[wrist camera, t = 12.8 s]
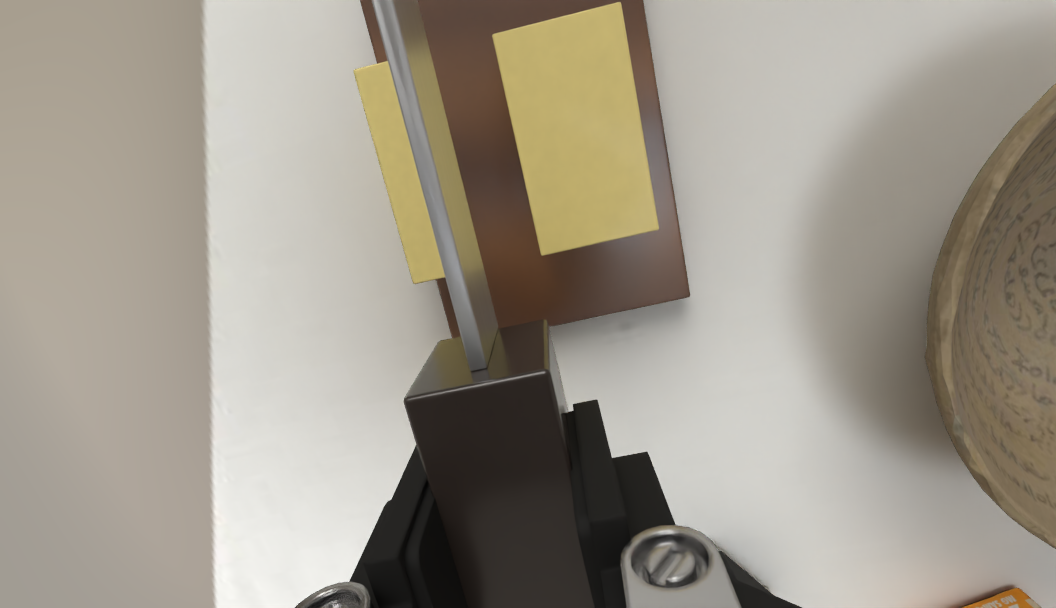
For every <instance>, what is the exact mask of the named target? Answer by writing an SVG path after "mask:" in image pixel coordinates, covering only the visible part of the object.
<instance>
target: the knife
mask: <svg viewBox="0 0 1056 608" xmlns="http://www.w3.org/2000/svg"><path fill="white" fill-rule="evenodd" d="M372 4H373V7H374V11H375V15H376V19H377V22H378V26H379V30H380V34H381V37H382V41H383V45H384V49H385V52H386V56H387V60H388V64H389V67H390V71H391V75H392V79H393V82H394V86H395V90H396V94H397V97H398V101H399V105H400V109H401V112H402V116H403V120H404V124H405V128H406V131H407V135H408V139H409V143H410V146H411V150H412V154H413V158H414V161H415V165H416V169H417V173H418V176H419V180H420V184H421V188H422V191H423V195H424V199H425V203H426V206H427V210H428V214H429V218H430V221H431V225H432V229H433V233H434V236H435V240H436V244H437V248H438V251H439V255H440V259H441V263H442V267H443V270H444V274H445V278H446V282H447V285H448V289H449V293H450V297H451V300H452V304H453V308H454V312H455V315H456V319H457V323H458V327H459V330H460V334H461V337H456V338H451V339H446V340H441V341H439V342H438V343H437V345H436V346H435V348H434V350H433V351H432V353H431V355H430V356H429V358H428V360H427V361H426V363H425V364H424V366H423V368H422V369H421V371H420V373H419V374H418V376H417V378H416V379H415V381H414V383H413V384H412V386H411V388H410V389H409V391H408V393H407V394H406V396H405V398H404V405H405V408H406V411H407V415H408V418H409V421H410V425H411V428H412V431H413V435H414V438H415V441H416V444H417V448H418V451H419V454H420V458H421V461H422V464H423V468H424V471H425V474H426V477H427V481H428V484H429V487H430V491H431V494H432V497H435V500H436V503H437V507H438V510H439V513H440V517H441V520H442V523H443V526H444V530H445V533H446V536H447V540H448V543H449V546H450V550H451V553H452V556H453V559H454V563H455V566H456V569H457V573H458V576H459V579H460V582H461V586H462V589H463V592H464V596H465V599H466V602H467V606H468V608H595V607H594V603H593V599H592V594H591V590H590V586H589V581H588V577H587V573H586V569H585V564H584V560H583V556H582V552H581V547H580V543H579V539H578V533H577V528H576V522H575V515H574V505H573V495H572V485H571V474H570V471H572V469H573V465H572V456H571V447H570V438H569V428H568V419H567V412H568V408H567V403H566V399H565V394H564V390H563V385H562V381H561V376H560V372H559V368H558V363H557V359H556V354H555V350H554V345H553V341H552V336H551V332H550V327H549V323H548V321H547V320H545V319H542V320H537V321H532V322H527V323H523V324H518V325H513V326H508V327H504V328H499V329H498V324H497V320H496V316H495V312H494V308H493V303H492V299H491V295H490V291H489V287H488V283H487V279H486V275H485V271H484V267H483V263H482V259H481V255H480V251H479V247H478V243H477V239H476V235H475V231H474V227H473V223H472V219H471V215H470V211H469V206H468V202H467V198H466V194H465V190H464V186H463V182H462V178H461V174H460V170H459V166H458V162H457V158H456V154H455V150H454V146H453V142H452V138H451V134H450V130H449V126H448V122H447V118H446V114H445V109H444V105H443V101H442V97H441V93H440V89H439V85H438V81H437V77H436V73H435V69H434V65H433V61H432V57H431V53H430V49H429V45H428V41H427V37H426V33H425V29H424V25H423V21H422V17H421V13H420V8H419V4H418V0H372Z"/></svg>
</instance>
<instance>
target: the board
mask: <svg viewBox="0 0 1056 608" xmlns="http://www.w3.org/2000/svg"><path fill="white" fill-rule="evenodd" d="M360 2H361V6H362V9H363V13H364V17H365V20H366V24H367V28H368V31H369V35H370V39H371V42H372V46H373V50H374V53H375V57H376V61H377V64H378V63H382V62H386V61H388V60H387V56H386V52H385V49H384V45H383V41H382V37H381V34H380V30H379V26H378V22H377V19H376V15H375V11H374V7H373V4H372V0H360ZM617 2H621V5H622V11H623V17H624V23H625V29H626V35H627V41H628V47H629V53H630V59H631V65H632V71H633V77H634V82H635V88H636V94H637V100H638V106H639V112H640V118H641V124H642V130H643V136H644V142H645V148H646V154H647V159H648V165H649V171H650V177H651V183H652V189H653V195H654V201H655V207H656V213H657V219H658V225H659V230H656V231H651V232H647V233H642V234H638V235H633V236H629V237H624V238H620V239H615V240H611V241H606V242H602V243H597V244H593V245H588V246H584V247H580V248H575V249H571V250H566V251H562V252H557V253H553V254H548V255H544V256H542V255H541V253H540V248H539V244H538V239H537V235H536V230H535V226H534V221H533V217H532V212H531V208H530V203H529V199H528V194H527V190H526V185H525V181H524V176H523V172H522V167H521V163H520V158H519V154H518V149H517V145H516V141H515V136H514V132H513V127H512V123H511V118H510V114H509V109H508V105H507V100H506V96H505V91H504V87H503V82H502V78H501V73H500V69H499V64H498V60H497V55H496V51H495V46H494V42H493V37H492V35H493V34H495V33H499V32H503V31H507V30H511V29H515V28H519V27H523V26H527V25H531V24H535V23H539V22H542V21H546V20H550V19H554V18H558V17H562V16H566V15H570V14H574V13H578V12H582V11H586V10H590V9H593V8H597V7H601V6H605V5H609V4H613V3H617ZM418 4H419V8H420V13H421V17H422V21H423V25H424V29H425V33H426V37H427V41H428V45H429V49H430V53H431V57H432V61H433V65H434V69H435V73H436V77H437V81H438V85H439V89H440V93H441V97H442V101H443V105H444V109H445V114H446V118H447V122H448V126H449V130H450V134H451V138H452V142H453V146H454V150H455V154H456V158H457V162H458V166H459V170H460V174H461V178H462V182H463V186H464V190H465V194H466V198H467V202H468V206H469V211H470V215H471V219H472V223H473V227H474V231H475V235H476V239H477V243H478V247H479V251H480V255H481V259H482V263H483V267H484V271H485V275H486V279H487V283H488V287H489V291H490V295H491V299H492V303H493V308H494V312H495V316H496V320H497V324H498V329H499V328H504V327H508V326H513V325H518V324H523V323H527V322H532V321H537V320H542V319H545V320H547V321H548V323H549V327H551V326H556V325H561V324H565V323H570V322H575V321H579V320H584V319H589V318H593V317H598V316H603V315H607V314H612V313H617V312H621V311H626V310H631V309H636V308H640V307H645V306H650V305H654V304H659V303H664V302H668V301H673V300H678V299H682V298H687V297H689V296H690V291H689V285H688V278H687V272H686V266H685V260H684V253H683V247H682V241H681V234H680V228H679V222H678V216H677V209H676V203H675V197H674V191H673V184H672V178H671V172H670V166H669V159H668V153H667V147H666V141H665V134H664V128H663V122H662V116H661V109H660V103H659V97H658V91H657V84H656V78H655V72H654V66H653V59H652V53H651V47H650V40H649V34H648V28H647V22H646V15H645V9H644V3H643V0H418ZM436 281H437V284H438V288H439V292H440V295H441V299H442V303H443V306H444V310H445V314H446V317H447V321H448V325H449V328H450V332H451V336H452V338H456V337H461V334H460V330H459V327H458V323H457V319H456V315H455V312H454V308H453V304H452V300H451V297H450V293H449V289H448V285H447V282H446V278H445V277H444V278H440V279H436Z"/></svg>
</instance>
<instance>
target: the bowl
mask: <svg viewBox="0 0 1056 608" xmlns="http://www.w3.org/2000/svg"><path fill="white" fill-rule="evenodd" d="M925 360H926V364H927V367H928V371H929V374H930V378H931V382H932V386H933V390H934V394H935V398H936V402H937V405H938V408H939V410H940V413H941V416H942V419H943V422H944V424H945V427H946V430H947V432H948V434H949V436H950V438H951V440H952V442H953V444H954V446H955V448H956V450H957V452H958V454H959V456H960V457H961V459H962V461H963V462H964V464H965V465H966V467H967V468H968V470H969V471H970V473H971V474H972V476H973V477H974V479H975V480H976V481H977V483H978V484H979V485H980V487H981V488H982V489H983V491H984V492H985V493H986V494H987V495H988V496H989V497H990V498H991V499H992V500H993V501H994V502H995V503H996V504H997V505H998V506H999V507H1000V508H1001V509H1002V510H1003V511H1004V512H1005V513H1006V514H1007V515H1008V516H1009V517H1011V518H1012V519H1013V520H1014V521H1016V522H1017V523H1018V524H1020V525H1021V526H1022V527H1024V528H1025V529H1026V530H1028V531H1029V532H1030V533H1032V534H1033V535H1035V536H1036V537H1038V538H1039V539H1041V540H1042V541H1044V542H1046V543H1047V544H1049V545H1050V546H1052V547H1053V548H1055V549H1056V84H1055V85H1053V86H1052V87H1051V88H1050V89H1049V90H1048V91H1047V92H1046V93H1045V94H1044V95H1043V96H1042V97H1041V99H1040V100H1039V101H1038V102H1037V103H1036V104H1035V105H1034V106H1033V107H1032V108H1031V109H1030V110H1029V111H1028V112H1027V113H1026V114H1025V115H1024V116H1023V117H1022V118H1021V119H1020V120H1019V121H1018V122H1017V123H1016V124H1015V126H1014V127H1013V128H1012V129H1011V131H1010V132H1009V133H1008V134H1007V135H1006V137H1005V138H1004V139H1003V140H1002V142H1001V143H1000V144H999V145H998V147H997V148H996V149H995V151H994V152H993V153H992V155H991V156H990V157H989V159H988V160H987V162H986V163H985V165H984V166H983V167H982V169H981V170H980V172H979V173H978V175H977V176H976V178H975V180H974V181H973V183H972V185H971V186H970V188H969V190H968V192H967V194H966V195H965V197H964V199H963V201H962V203H961V204H960V206H959V208H958V210H957V212H956V214H955V215H954V218H953V220H952V223H951V225H950V228H949V230H948V233H947V235H946V238H945V240H944V243H943V246H942V248H941V251H940V254H939V257H938V260H937V263H936V266H935V270H934V273H933V277H932V284H931V290H930V296H929V304H928V316H927V346H926V352H925Z"/></svg>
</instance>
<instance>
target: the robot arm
mask: <svg viewBox="0 0 1056 608" xmlns="http://www.w3.org/2000/svg"><path fill="white" fill-rule="evenodd" d="M573 409H574V411H571V412H567V419H568V428H569V438H570V447H571V456H572V465H573V469H572V471H570V474H571V485H572V495H573V505H574V515H575V522H576V528H577V533H578V539H579V543H580V547H581V552H582V556H583V560H584V564H585V569H586V573H587V577H588V581H589V586H590V590H591V594H592V599H593V603H594V607H595V608H802V607H799V606H797V605H795V604H792V603H790V602H787V601H785V600H783V599H780V598H778V597H776V596H773V595H771V594H769V593H766V592H764V591H762V590H759V589H757V588H755V587H752V586H750V585H748V584H745V583H743V582H741V581H738V580H736V579H734V578H731V577H729V575H728V573H727V570H726V568H725V565H724V563H723V561H722V558H721V556H720V553H719V551H718V549H717V548H716V546H715V545H714V543H713V542H712V540H710V539H709V538H708V537H706V536H705V535H704V534H703V533H701V532H698V531H696V530H694V529H691V528H689V527H683V526H677V525H675V523H674V520H673V518H672V515H671V512H670V510H669V507H668V504H667V502H666V499H665V496H664V494H663V491H662V489H661V486H660V483H659V481H658V478H657V475H656V473H655V470H654V467H653V465H652V462H651V460H650V457H649V455H648V452H643V453H637V454H632V455H627V456H621V457H616V458H612V457H611V453H610V449H609V445H608V441H607V437H606V433H605V429H604V425H603V421H602V417H601V413H600V408H599V404H598V400H592V401H587V402H582V403H577V404H573ZM295 608H468V606H467V602H466V599H465V596H464V592H463V589H462V586H461V582H460V579H459V576H458V573H457V569H456V566H455V563H454V559H453V556H452V553H451V550H450V546H449V543H448V540H447V536H446V533H445V530H444V526H443V523H442V520H441V517H440V513H439V510H438V507H437V503H436V500H435V497H432V494H431V491H430V487H429V484H428V481H427V477H426V474H425V471H424V468H423V464H422V461H421V458H420V454H419V451H418V448H417V444H416V447H415V449H414V451H413V453H412V456H411V458H410V460H409V462H408V464H407V467H406V469H405V471H404V473H403V475H402V478H401V480H400V482H399V484H398V486H397V489H396V491H395V493H394V495H393V497H392V500H390V501H388V502H387V503H386V505H385V506H384V509H383V511H382V513H381V515H380V517H379V519H378V521H377V524H376V526H375V528H374V530H373V532H372V534H371V536H370V539H369V541H368V543H367V545H366V547H365V549H364V551H363V554H362V556H361V558H360V560H359V562H358V564H357V567H356V569H355V571H354V573H353V575H352V577H351V579H350V582H343V583H337V584H334V585H331V586H327V587H325V588H323V589H321V590H319V591H317V592H315V593H313V594H311V595H310V596H309V597H307V598H306V599H304V600H303V601H302V602H300V603H299V604H298V605H297V606H296V607H295Z"/></svg>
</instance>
